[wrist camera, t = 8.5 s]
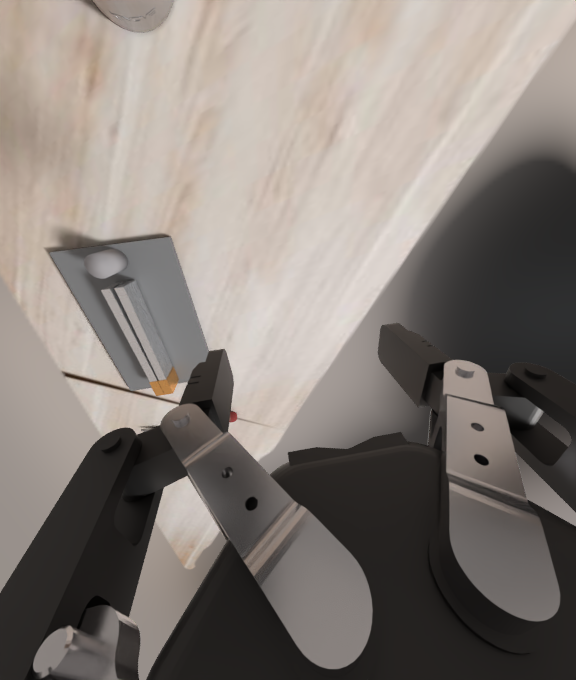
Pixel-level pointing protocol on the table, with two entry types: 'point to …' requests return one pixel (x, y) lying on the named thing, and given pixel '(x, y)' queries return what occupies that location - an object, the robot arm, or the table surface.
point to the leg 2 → (147, 334)
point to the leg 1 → (131, 335)
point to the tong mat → (158, 293)
